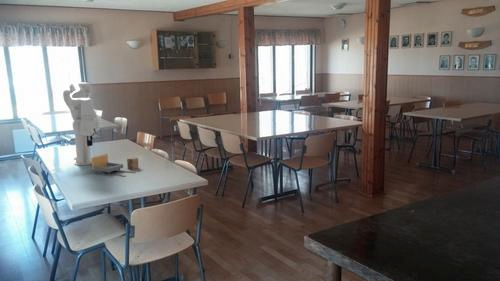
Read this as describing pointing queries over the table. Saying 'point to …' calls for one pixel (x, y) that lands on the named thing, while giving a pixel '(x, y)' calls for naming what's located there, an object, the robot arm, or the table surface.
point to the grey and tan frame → (104, 164)
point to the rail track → (116, 174)
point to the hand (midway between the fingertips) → (89, 145)
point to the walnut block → (132, 163)
